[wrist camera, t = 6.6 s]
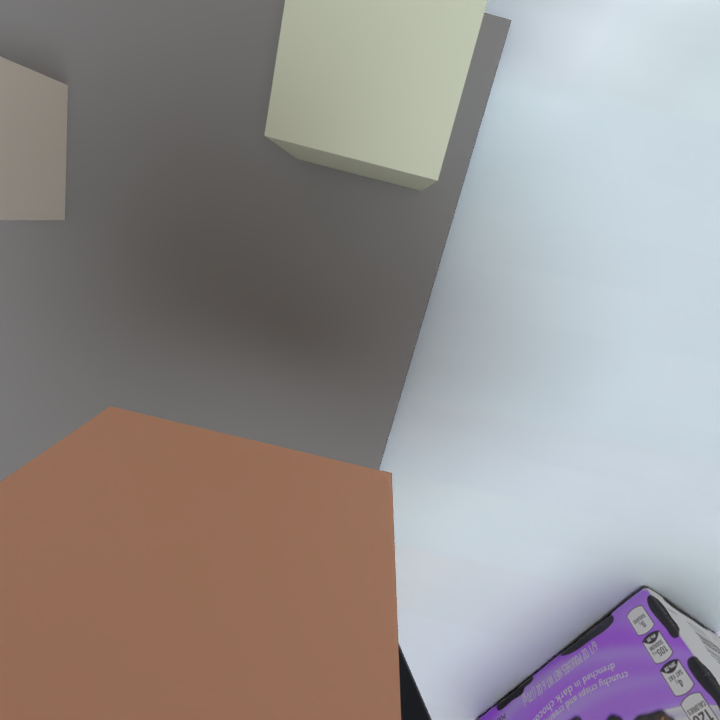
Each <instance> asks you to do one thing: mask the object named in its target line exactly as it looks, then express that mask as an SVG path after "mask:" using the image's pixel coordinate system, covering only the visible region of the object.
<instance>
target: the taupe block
mask: <svg viewBox="0 0 720 720" xmlns="http://www.w3.org/2000/svg"><path fill="white" fill-rule="evenodd" d="M67 104H68V85H66V84H64V83H62V82H59V81H57V80H55V79H52V78H50V77H48V76H45V75H43V74H41V73H38V72H36V71H34V70H31V69H29V68H26V67H24V66H22V65H19V64H17V63H15V62H12V61H10V60H8V59H5V58H3V57H1V56H0V220H65V194H66V149H67Z"/></svg>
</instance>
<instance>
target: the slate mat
mask: <svg viewBox="0 0 720 720" xmlns="http://www.w3.org/2000/svg"><path fill="white" fill-rule="evenodd" d="M284 5H285V0H0V56H1V57H3V58H5V59H8V60H10V61H12V62H15V63H17V64H19V65H22V66H24V67H26V68H29V69H31V70H34V71H36V72H38V73H41V74H43V75H45V76H48V77H50V78H52V79H55V80H57V81H59V82H62V83H64V84H66V85H68V104H67V149H66V194H65V220H0V482H1V481H2V480H4V479H5V478H7V477H8V476H10V475H11V474H12V473H14V472H15V471H17V470H18V469H20V468H21V467H23V466H24V465H25V464H27V463H28V462H30V461H31V460H33V459H34V458H36V457H37V456H39V455H40V454H41V453H43V452H44V451H46V450H47V449H49V448H50V447H52V446H53V445H55V444H56V443H57V442H59V441H60V440H62V439H63V438H65V437H66V436H68V435H69V434H70V433H72V432H73V431H75V430H76V429H78V428H79V427H81V426H82V425H84V424H85V423H86V422H88V421H89V420H91V419H92V418H94V417H95V416H97V415H98V414H99V413H101V412H102V411H104V410H105V409H107V408H108V407H110V406H111V407H116V408H120V409H124V410H128V411H132V412H137V413H141V414H145V415H149V416H153V417H158V418H162V419H166V420H170V421H174V422H179V423H183V424H187V425H191V426H195V427H200V428H204V429H208V430H212V431H216V432H221V433H225V434H229V435H233V436H237V437H242V438H246V439H250V440H254V441H258V442H263V443H267V444H271V445H275V446H280V447H284V448H288V449H292V450H296V451H301V452H305V453H309V454H313V455H317V456H322V457H326V458H330V459H334V460H338V461H343V462H347V463H351V464H355V465H359V466H364V467H368V468H372V469H376V470H379V467H380V464H381V461H382V457H383V454H384V450H385V447H386V444H387V440H388V437H389V433H390V430H391V427H392V423H393V420H394V416H395V413H396V410H397V406H398V403H399V400H400V396H401V393H402V389H403V386H404V383H405V379H406V376H407V372H408V369H409V366H410V362H411V359H412V355H413V352H414V349H415V345H416V342H417V338H418V335H419V332H420V328H421V325H422V322H423V318H424V315H425V311H426V308H427V305H428V301H429V298H430V294H431V291H432V288H433V284H434V281H435V277H436V274H437V271H438V267H439V264H440V260H441V257H442V254H443V250H444V247H445V244H446V240H447V237H448V233H449V230H450V227H451V223H452V220H453V216H454V213H455V210H456V206H457V203H458V199H459V196H460V193H461V189H462V186H463V182H464V179H465V176H466V172H467V169H468V166H469V162H470V159H471V155H472V152H473V149H474V145H475V142H476V138H477V135H478V132H479V128H480V125H481V121H482V118H483V115H484V111H485V108H486V105H487V101H488V98H489V94H490V91H491V88H492V84H493V81H494V77H495V74H496V71H497V67H498V64H499V60H500V57H501V54H502V50H503V47H504V43H505V40H506V37H507V33H508V30H509V27H510V23H511V20H509V19H505V18H501V17H498V16H494V15H490V14H487V13H484V15H483V19H482V23H481V26H480V30H479V33H478V37H477V41H476V44H475V48H474V52H473V55H472V59H471V62H470V66H469V70H468V73H467V77H466V80H465V84H464V88H463V91H462V95H461V99H460V102H459V106H458V109H457V113H456V117H455V120H454V124H453V127H452V131H451V135H450V138H449V142H448V145H447V149H446V153H445V156H444V160H443V164H442V167H441V171H440V174H439V178H438V181H436V182H435V183H433V184H432V185H431V186H429V187H428V188H426V189H425V190H423V191H419V190H415V189H411V188H407V187H404V186H400V185H396V184H392V183H388V182H384V181H380V180H376V179H373V178H369V177H365V176H361V175H357V174H353V173H349V172H345V171H341V170H338V169H334V168H330V167H326V166H322V165H318V164H314V163H310V162H307V161H303V160H299V159H297V158H295V157H294V156H292V155H291V154H289V153H288V152H287V151H285V150H284V149H282V148H281V147H280V146H278V145H277V144H275V143H274V142H273V141H271V140H270V139H268V138H267V137H265V136H264V135H265V128H266V122H267V115H268V109H269V102H270V96H271V89H272V83H273V76H274V70H275V63H276V57H277V50H278V44H279V37H280V31H281V24H282V18H283V11H284Z"/></svg>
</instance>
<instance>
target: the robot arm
mask: <svg viewBox="0 0 720 720" xmlns="http://www.w3.org/2000/svg"><path fill="white" fill-rule="evenodd" d="M398 650H399V676H400V702H401V720H431V717H430V715H429V713H428V710H427V708H426V706H425V703H424V701H423V699H422V697H421V694H420V692H419V690H418V687H417V685H416V683H415V680H414V678H413V676H412V673H411V671H410V669H409V666H408V664H407V662H406V660H405V657H404V655H403V653H402V650H401V648H400V646H399V643H398Z"/></svg>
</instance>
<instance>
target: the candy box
mask: <svg viewBox="0 0 720 720" xmlns="http://www.w3.org/2000/svg"><path fill="white" fill-rule="evenodd" d="M478 720H720V637H718V636H717V635H715V634H714V633H712V632H711V631H710V630H708V629H707V628H706V627H704V626H703V625H701V624H700V623H698V622H697V621H695V620H693V619H692V618H691V617H689V616H688V615H686V614H685V613H684V612H682V611H681V610H680V609H678V608H677V607H676V606H674V605H673V604H672V603H671V602H669V601H668V600H666V599H665V598H663V597H662V596H660V595H659V594H657V593H655V592H654V591H652V590H651V589H649V588H643V589H642V590H640V591H639V592H638V593H636V594H635V595H634V596H632V597H631V598H630V599H628V600H627V601H626V602H625V603H623V604H622V605H621V606H620V607H618V608H617V609H616V610H615V611H614V612H613V613H612V614H611V615H610V616H608V617H607V618H606V619H604V620H603V621H602V622H601V623H599V624H598V625H596V626H595V627H593V628H592V629H591V630H589V631H588V632H587V633H586V634H585V635H583V636H582V637H581V638H580V639H579V640H578V641H576V642H575V643H574V644H573V645H571V646H570V647H569V648H567V649H566V650H565V651H563V652H562V653H561V654H559V655H558V656H557V657H556V658H554V659H553V660H552V661H551V662H549V663H548V664H547V665H546V666H544V667H543V668H542V669H541V670H540V671H538V672H537V673H536V674H535V675H533V676H532V677H531V678H529V679H528V680H527V681H525V682H524V683H523V684H522V685H521V686H519V687H518V688H517V689H516V690H515V691H513V692H512V693H511V694H510V695H508V696H507V697H506V698H504V699H503V700H502V701H500V702H499V703H498V704H497V705H496V706H494V707H493V708H491V709H490V710H489V711H488V712H487V713H486V714H484V715H483V716H482V717H480V718H479V719H478Z"/></svg>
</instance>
